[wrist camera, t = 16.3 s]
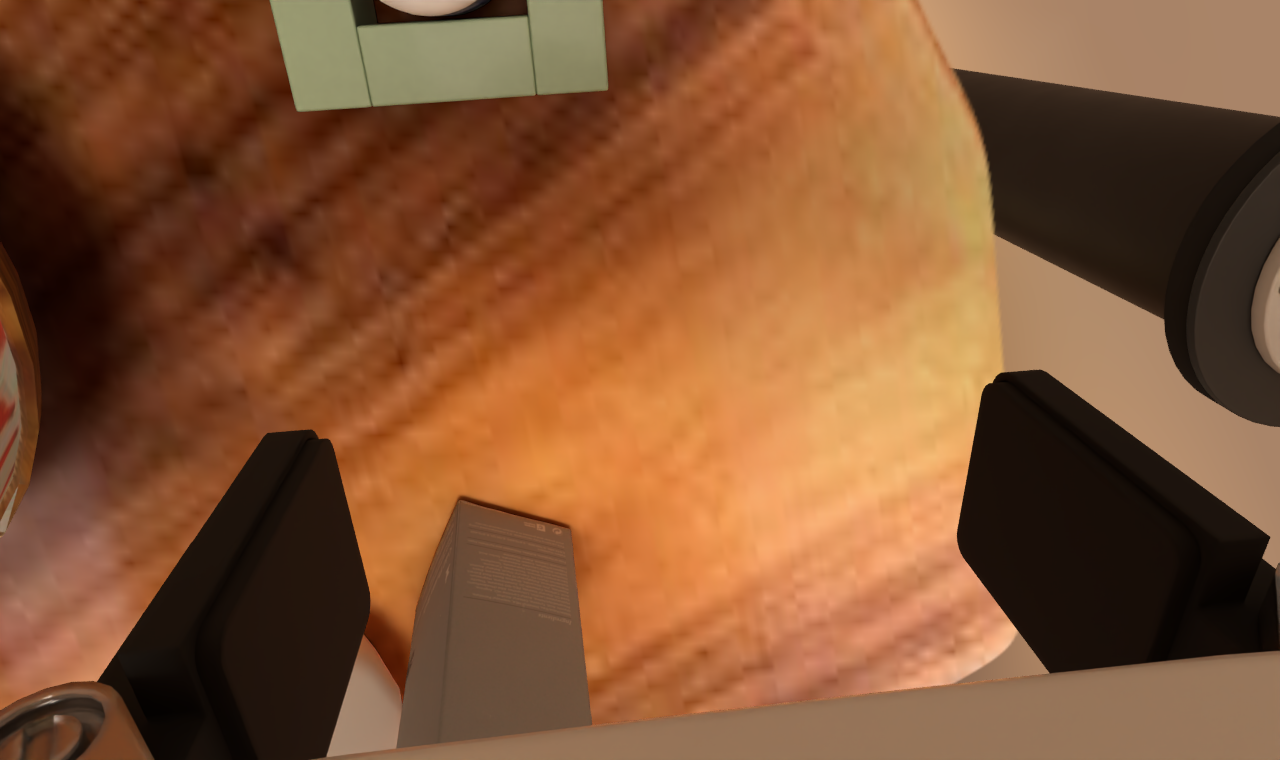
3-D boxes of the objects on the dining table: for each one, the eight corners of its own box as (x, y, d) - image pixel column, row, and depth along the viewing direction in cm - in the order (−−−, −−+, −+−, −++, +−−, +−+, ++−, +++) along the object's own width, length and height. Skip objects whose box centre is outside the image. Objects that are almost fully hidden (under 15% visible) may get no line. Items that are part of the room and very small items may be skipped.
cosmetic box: (457, 493, 39) (411, 771, 25) (588, 529, 41) (613, 806, 27) (410, 614, 42) (344, 923, 28) (533, 642, 44) (530, 944, 30)
